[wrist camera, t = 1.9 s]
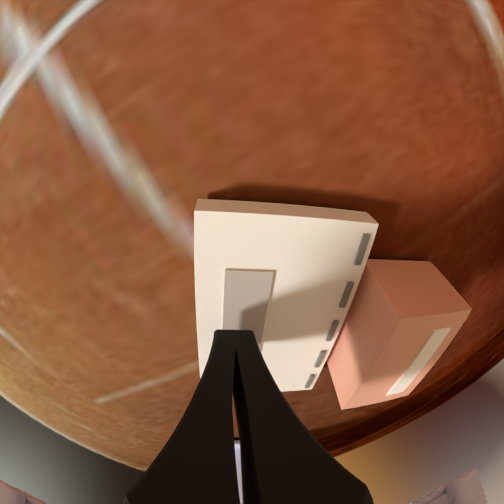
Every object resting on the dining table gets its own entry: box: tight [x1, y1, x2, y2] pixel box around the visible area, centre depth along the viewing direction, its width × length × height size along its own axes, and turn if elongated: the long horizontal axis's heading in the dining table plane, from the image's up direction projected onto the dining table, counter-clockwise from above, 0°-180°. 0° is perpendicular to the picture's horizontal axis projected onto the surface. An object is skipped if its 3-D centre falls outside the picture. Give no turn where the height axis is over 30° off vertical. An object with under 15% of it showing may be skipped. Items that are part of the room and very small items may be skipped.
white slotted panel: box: [194, 199, 379, 391], centre depth 11 cm, size 10×6×1 cm, turn 175°
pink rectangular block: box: [326, 259, 472, 410], centre depth 11 cm, size 6×4×4 cm, turn 175°
